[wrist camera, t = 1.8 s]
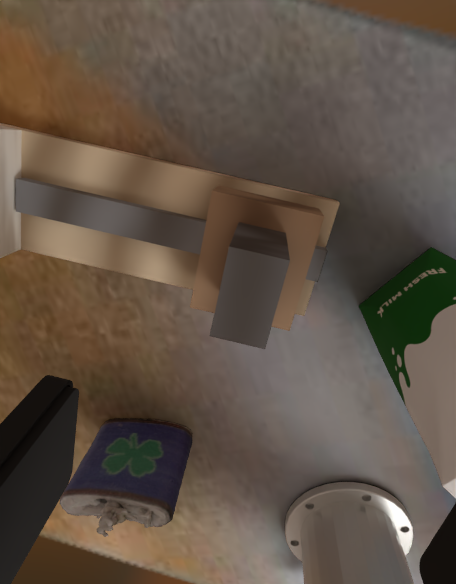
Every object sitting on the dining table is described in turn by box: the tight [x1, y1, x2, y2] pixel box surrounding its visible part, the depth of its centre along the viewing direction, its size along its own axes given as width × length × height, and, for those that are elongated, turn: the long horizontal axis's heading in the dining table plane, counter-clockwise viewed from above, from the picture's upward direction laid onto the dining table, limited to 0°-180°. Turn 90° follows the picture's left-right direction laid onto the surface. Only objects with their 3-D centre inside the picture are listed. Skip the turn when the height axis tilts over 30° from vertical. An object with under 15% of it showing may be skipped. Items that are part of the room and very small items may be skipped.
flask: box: [60, 418, 192, 537], centre depth 34 cm, size 9×3×11 cm, turn 88°
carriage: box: [190, 185, 324, 349], centre depth 24 cm, size 7×8×9 cm
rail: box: [0, 123, 340, 316], centre depth 24 cm, size 29×9×14 cm, turn 78°
